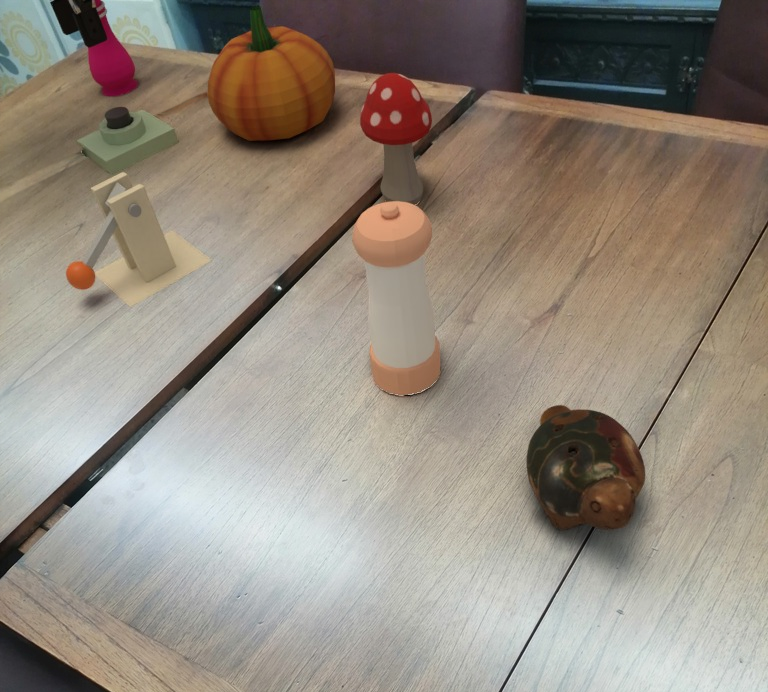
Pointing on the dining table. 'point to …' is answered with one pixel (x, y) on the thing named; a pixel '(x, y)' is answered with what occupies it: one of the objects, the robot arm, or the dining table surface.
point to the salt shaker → (398, 296)
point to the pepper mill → (111, 61)
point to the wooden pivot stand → (142, 245)
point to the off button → (118, 118)
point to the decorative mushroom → (397, 133)
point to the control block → (127, 142)
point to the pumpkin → (271, 82)
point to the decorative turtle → (584, 469)
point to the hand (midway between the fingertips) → (85, 36)
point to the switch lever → (93, 250)
